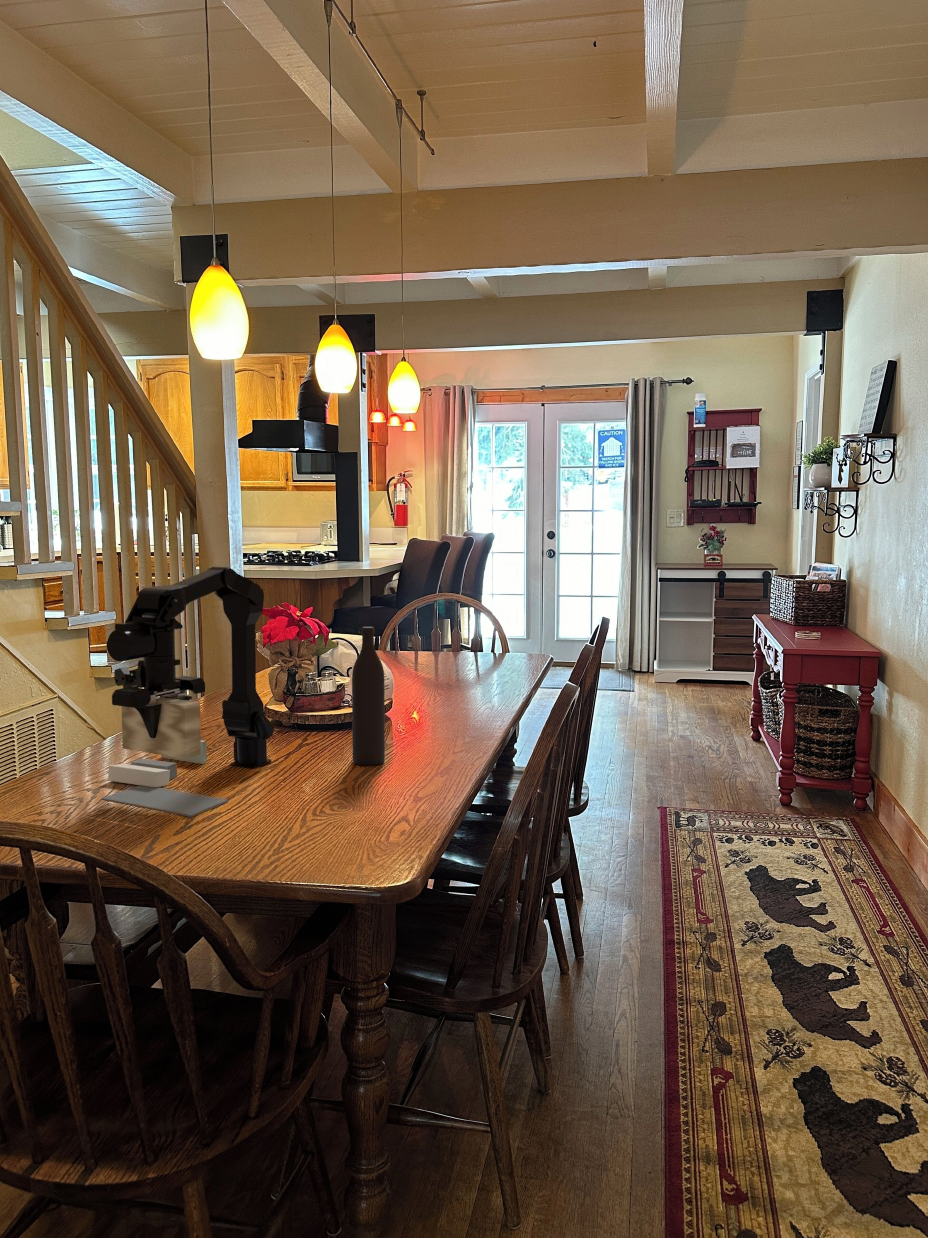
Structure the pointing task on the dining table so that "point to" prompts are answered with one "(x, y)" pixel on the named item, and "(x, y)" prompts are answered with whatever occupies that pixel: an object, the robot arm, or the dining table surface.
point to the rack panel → (195, 759)
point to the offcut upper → (158, 766)
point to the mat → (166, 800)
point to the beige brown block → (165, 729)
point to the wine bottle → (368, 704)
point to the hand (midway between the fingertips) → (161, 735)
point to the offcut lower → (138, 775)
